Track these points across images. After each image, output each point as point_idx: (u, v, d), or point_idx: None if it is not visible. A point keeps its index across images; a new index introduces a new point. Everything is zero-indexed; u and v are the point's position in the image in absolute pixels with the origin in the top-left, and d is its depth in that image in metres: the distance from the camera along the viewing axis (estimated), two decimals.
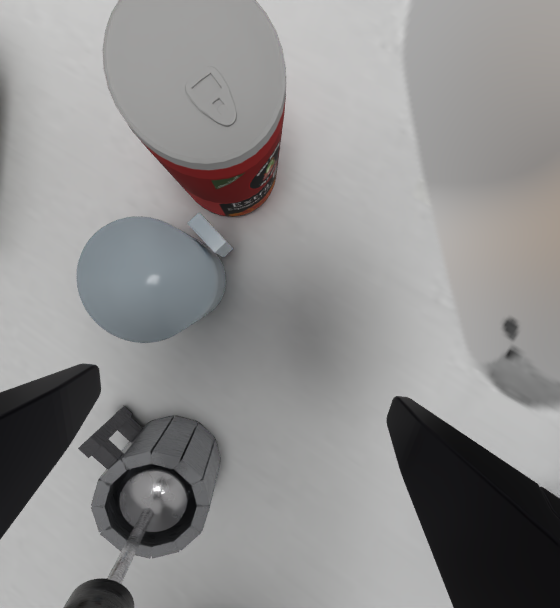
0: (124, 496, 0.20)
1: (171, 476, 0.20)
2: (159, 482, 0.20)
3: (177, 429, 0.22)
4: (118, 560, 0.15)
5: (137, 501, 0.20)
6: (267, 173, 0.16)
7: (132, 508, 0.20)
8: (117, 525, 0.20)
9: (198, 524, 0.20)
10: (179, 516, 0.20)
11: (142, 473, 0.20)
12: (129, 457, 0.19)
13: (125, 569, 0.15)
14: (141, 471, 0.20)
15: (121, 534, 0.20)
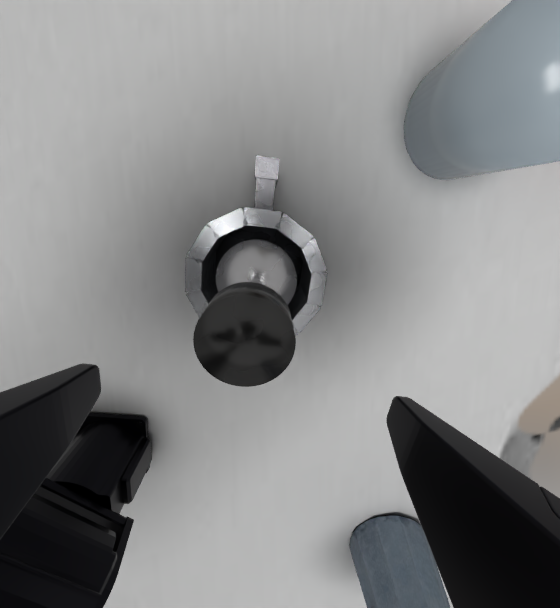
0: (239, 248, 0.15)
1: (296, 277, 0.16)
2: (281, 270, 0.16)
3: None
4: None
5: (244, 266, 0.16)
6: None
7: (233, 267, 0.16)
8: (203, 267, 0.16)
9: None
10: None
11: (278, 247, 0.15)
12: (292, 220, 0.15)
13: None
14: (275, 244, 0.16)
15: (201, 278, 0.16)
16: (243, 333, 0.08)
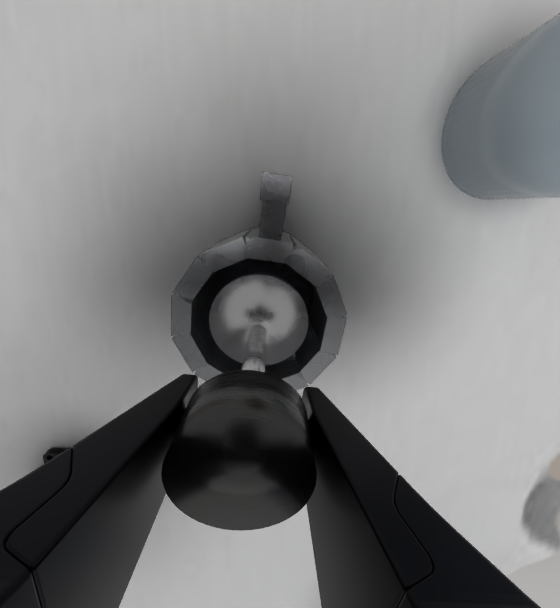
0: (239, 285, 0.12)
1: (307, 319, 0.13)
2: (290, 312, 0.13)
3: None
4: (257, 368, 0.09)
5: (245, 305, 0.13)
6: None
7: (231, 306, 0.13)
8: (193, 305, 0.13)
9: None
10: None
11: (287, 284, 0.12)
12: (305, 253, 0.12)
13: None
14: (283, 280, 0.13)
15: (190, 319, 0.13)
16: (237, 467, 0.05)
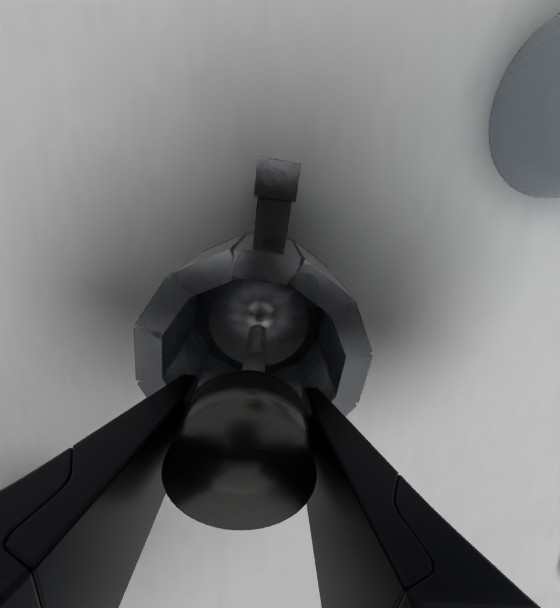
0: (239, 285, 0.12)
1: (307, 319, 0.13)
2: (290, 312, 0.13)
3: None
4: (257, 368, 0.09)
5: (245, 305, 0.13)
6: None
7: (231, 306, 0.13)
8: (166, 340, 0.09)
9: None
10: None
11: None
12: (318, 272, 0.08)
13: None
14: None
15: (162, 359, 0.09)
16: (238, 467, 0.05)
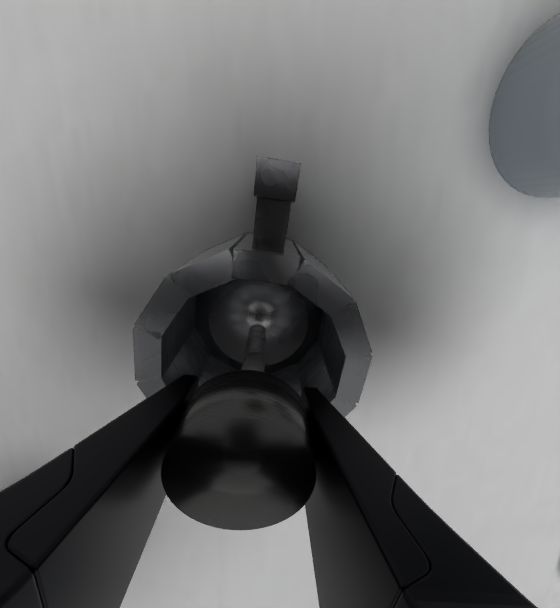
0: (238, 284, 0.12)
1: (307, 319, 0.13)
2: (289, 311, 0.13)
3: None
4: (257, 368, 0.09)
5: (244, 305, 0.13)
6: None
7: (231, 306, 0.13)
8: (165, 340, 0.09)
9: None
10: None
11: None
12: (317, 271, 0.08)
13: None
14: None
15: (161, 359, 0.09)
16: (237, 467, 0.05)
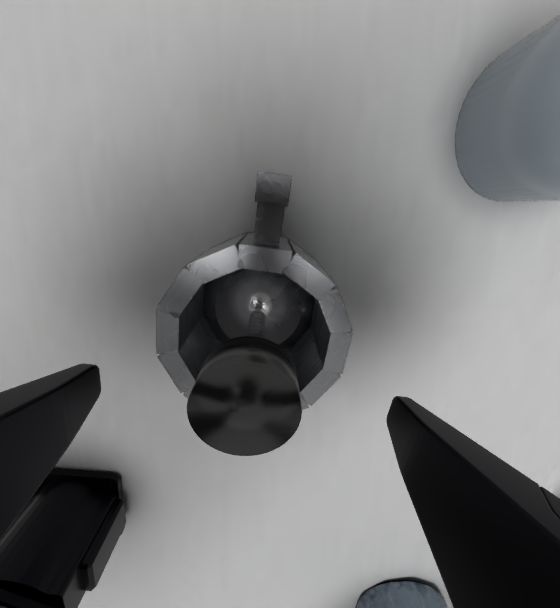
0: (241, 276, 0.14)
1: (300, 307, 0.15)
2: (285, 300, 0.15)
3: None
4: None
5: (246, 294, 0.15)
6: None
7: (234, 295, 0.15)
8: (181, 320, 0.11)
9: None
10: None
11: (282, 276, 0.14)
12: (306, 262, 0.10)
13: None
14: None
15: (178, 336, 0.11)
16: (243, 402, 0.07)
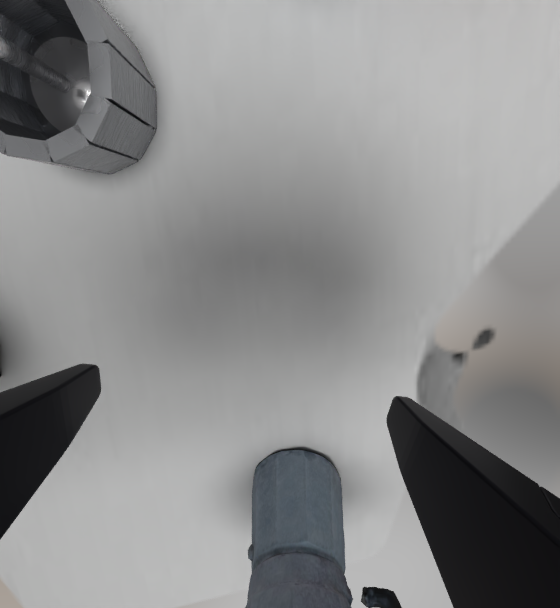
0: (49, 47, 0.15)
1: None
2: None
3: (128, 46, 0.14)
4: None
5: (59, 70, 0.15)
6: None
7: None
8: None
9: (56, 149, 0.13)
10: None
11: None
12: None
13: (4, 50, 0.11)
14: None
15: None
16: None
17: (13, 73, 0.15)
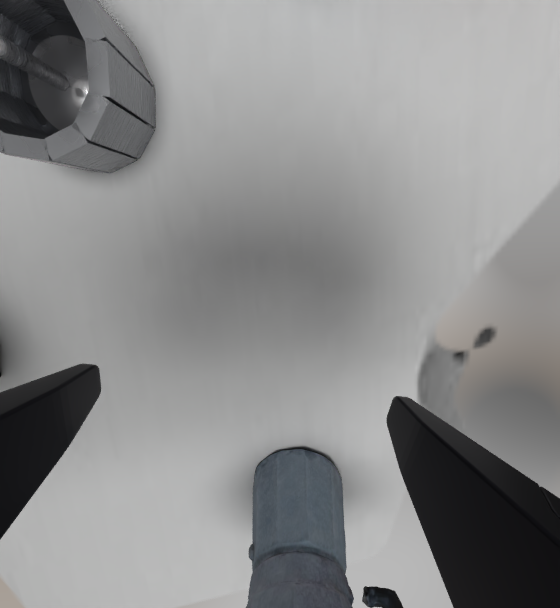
0: (47, 46, 0.15)
1: None
2: None
3: (127, 44, 0.14)
4: None
5: (57, 69, 0.15)
6: None
7: None
8: None
9: (54, 148, 0.13)
10: None
11: None
12: None
13: (1, 48, 0.11)
14: None
15: None
16: None
17: (12, 72, 0.15)
